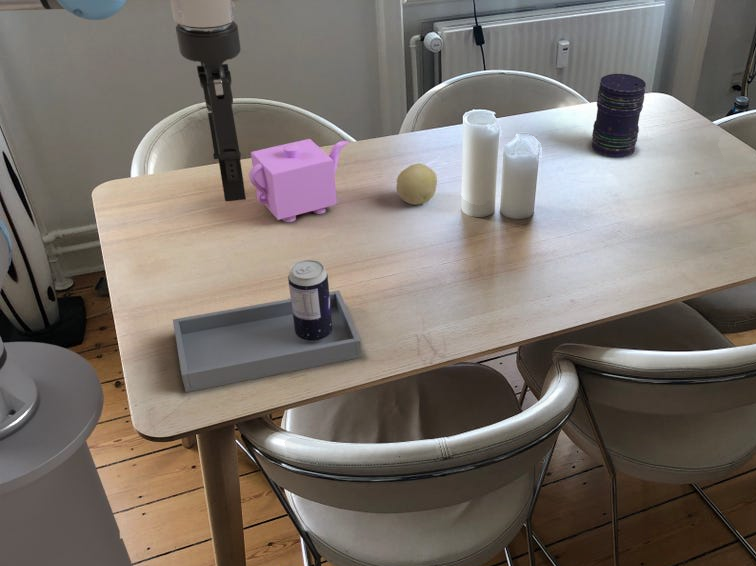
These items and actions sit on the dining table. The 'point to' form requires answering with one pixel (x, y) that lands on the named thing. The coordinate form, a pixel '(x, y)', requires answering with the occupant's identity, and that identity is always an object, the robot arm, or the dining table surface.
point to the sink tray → (257, 343)
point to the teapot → (295, 178)
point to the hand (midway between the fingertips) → (229, 176)
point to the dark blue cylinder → (618, 115)
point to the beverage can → (310, 300)
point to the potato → (416, 184)
